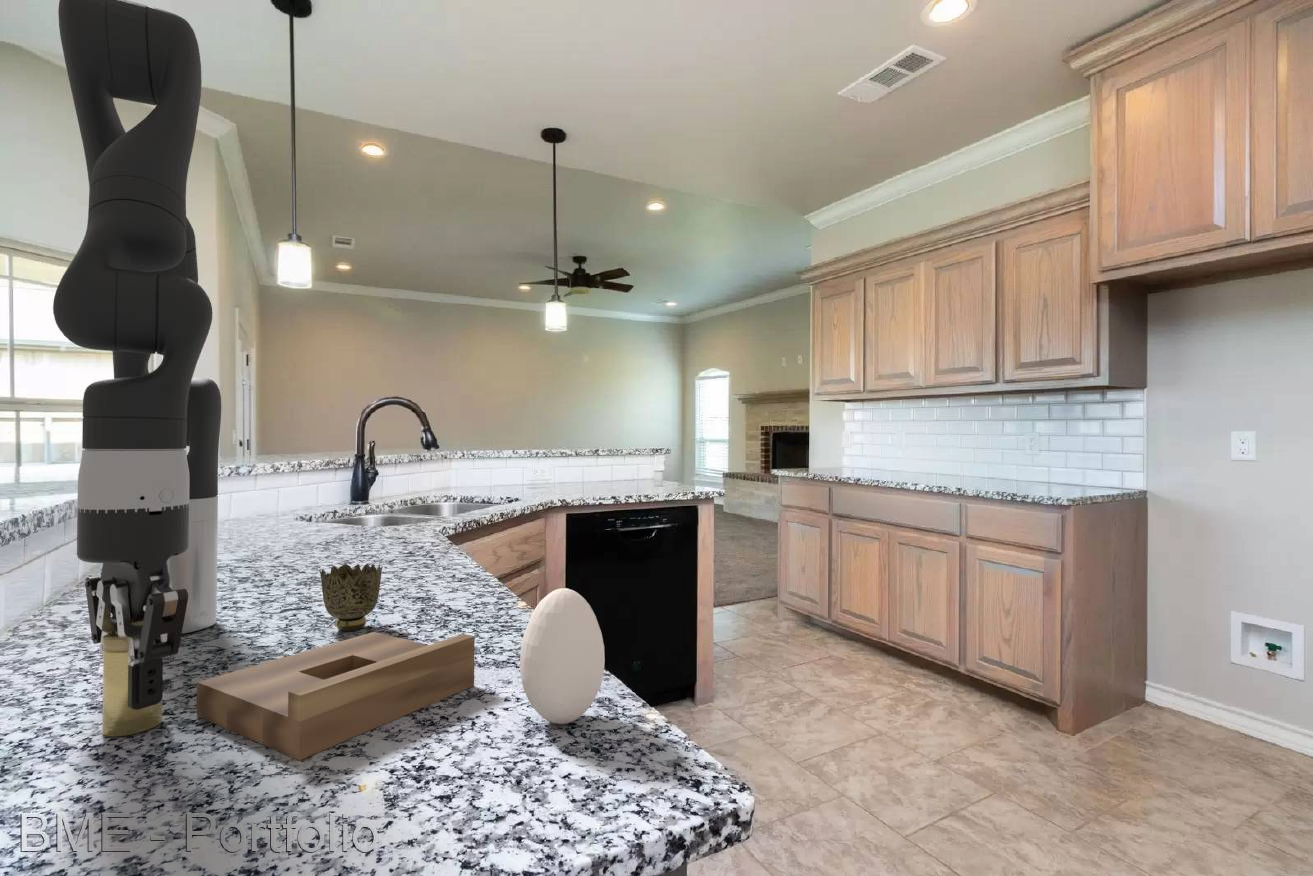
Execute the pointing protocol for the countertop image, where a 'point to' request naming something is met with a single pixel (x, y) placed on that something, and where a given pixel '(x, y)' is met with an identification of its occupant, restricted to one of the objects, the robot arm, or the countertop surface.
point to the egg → (562, 657)
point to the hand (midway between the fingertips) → (133, 699)
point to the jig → (335, 690)
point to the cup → (351, 594)
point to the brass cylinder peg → (122, 693)
